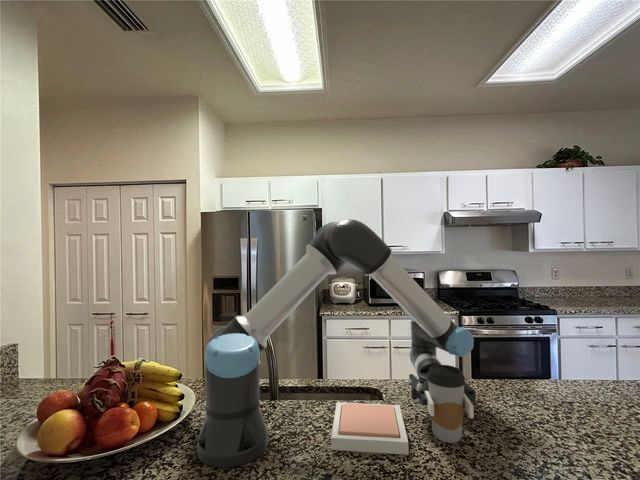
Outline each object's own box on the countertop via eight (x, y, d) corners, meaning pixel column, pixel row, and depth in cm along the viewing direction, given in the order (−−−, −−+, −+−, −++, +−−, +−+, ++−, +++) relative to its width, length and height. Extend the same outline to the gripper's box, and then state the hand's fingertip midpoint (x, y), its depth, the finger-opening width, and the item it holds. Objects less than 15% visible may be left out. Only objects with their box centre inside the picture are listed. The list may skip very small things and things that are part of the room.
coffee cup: (459, 426, 81) (458, 364, 81) (472, 447, 72) (470, 377, 73) (424, 424, 82) (423, 363, 82) (432, 445, 73) (431, 376, 74)
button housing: (331, 449, 72) (331, 437, 72) (336, 412, 88) (336, 402, 88) (408, 454, 70) (408, 442, 70) (399, 415, 86) (399, 405, 86)
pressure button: (339, 435, 74) (339, 431, 74) (342, 407, 87) (342, 403, 87) (399, 439, 72) (399, 434, 72) (393, 409, 85) (393, 405, 85)
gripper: (467, 386, 94) (501, 430, 71) (394, 383, 96) (404, 425, 74) (467, 359, 94) (501, 395, 71) (393, 357, 96) (403, 391, 74)
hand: (451, 410), depth 72 cm, fingers closed on coffee cup, 7 cm apart
